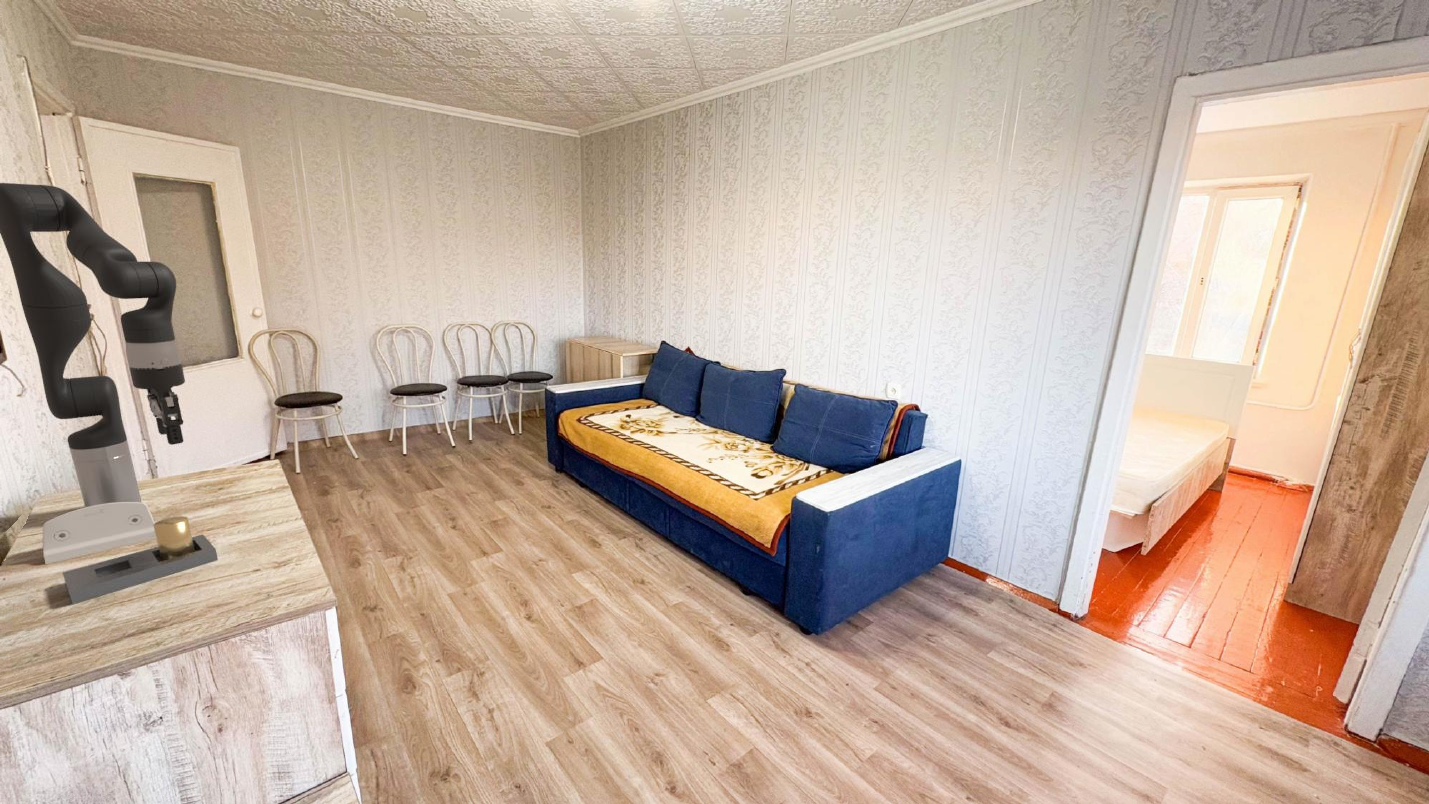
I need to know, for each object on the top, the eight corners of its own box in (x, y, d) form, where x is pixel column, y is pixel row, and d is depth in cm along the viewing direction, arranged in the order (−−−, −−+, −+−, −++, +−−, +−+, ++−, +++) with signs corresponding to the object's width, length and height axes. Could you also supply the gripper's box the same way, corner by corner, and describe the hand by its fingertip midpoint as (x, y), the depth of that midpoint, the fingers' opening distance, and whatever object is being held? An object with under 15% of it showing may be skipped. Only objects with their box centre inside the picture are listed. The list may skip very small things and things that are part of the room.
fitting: (160, 562, 112) (151, 522, 110) (192, 553, 116) (184, 514, 114) (165, 570, 109) (156, 529, 107) (198, 560, 113) (190, 521, 111)
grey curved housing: (42, 565, 110) (32, 516, 110) (46, 563, 113) (36, 516, 113) (159, 538, 122) (150, 494, 122) (160, 537, 125) (150, 495, 125)
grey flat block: (65, 584, 104) (62, 572, 103) (205, 544, 120) (202, 534, 119) (72, 604, 98) (69, 592, 98) (217, 560, 114) (215, 549, 113)
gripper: (122, 359, 111) (139, 434, 115) (135, 371, 103) (153, 451, 107) (172, 355, 117) (187, 427, 121) (189, 366, 109) (204, 442, 113)
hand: (171, 438), depth 114 cm, fingers open, 8 cm apart
